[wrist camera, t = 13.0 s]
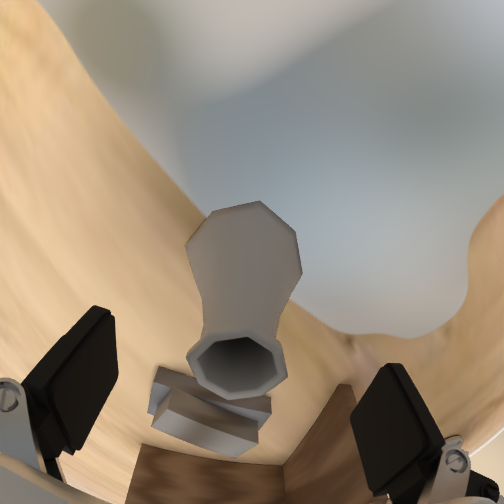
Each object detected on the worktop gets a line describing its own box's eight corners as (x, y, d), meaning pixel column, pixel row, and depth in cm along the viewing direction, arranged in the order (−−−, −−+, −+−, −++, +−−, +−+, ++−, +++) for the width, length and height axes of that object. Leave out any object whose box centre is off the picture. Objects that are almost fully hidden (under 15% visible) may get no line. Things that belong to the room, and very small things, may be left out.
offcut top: (258, 421, 21) (258, 443, 19) (235, 437, 22) (234, 458, 20) (173, 386, 19) (167, 408, 17) (157, 405, 20) (150, 426, 18)
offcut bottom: (270, 393, 23) (271, 413, 20) (250, 421, 24) (250, 440, 22) (160, 362, 22) (153, 381, 19) (153, 394, 23) (147, 412, 21)
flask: (166, 239, 17) (90, 329, 8) (265, 179, 16) (285, 214, 7) (227, 323, 20) (213, 443, 10) (319, 275, 18) (373, 384, 9)
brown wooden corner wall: (353, 385, 22) (394, 508, 10) (290, 470, 28) (297, 551, 16) (133, 349, 20) (71, 482, 8) (142, 448, 27) (120, 530, 14)
